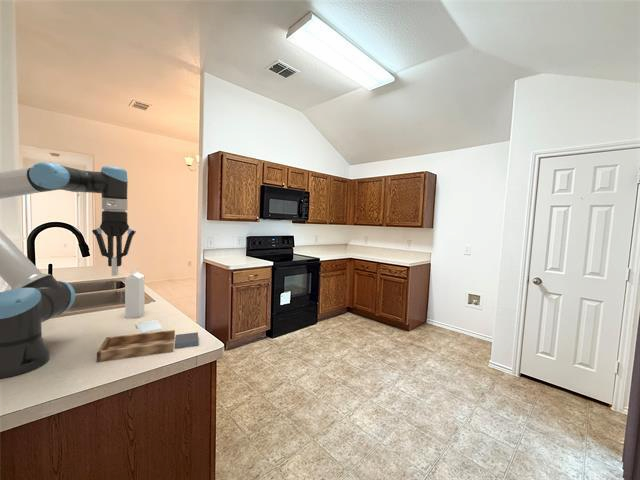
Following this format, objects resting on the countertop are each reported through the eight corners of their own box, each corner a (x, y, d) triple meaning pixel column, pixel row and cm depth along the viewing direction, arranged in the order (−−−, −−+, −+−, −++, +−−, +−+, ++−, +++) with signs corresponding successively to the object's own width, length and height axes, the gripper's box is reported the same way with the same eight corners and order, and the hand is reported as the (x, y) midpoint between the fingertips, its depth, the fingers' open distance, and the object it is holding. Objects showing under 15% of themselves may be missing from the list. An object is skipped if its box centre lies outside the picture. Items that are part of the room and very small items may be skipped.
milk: (144, 313, 137) (145, 269, 135) (139, 318, 131) (139, 271, 129) (130, 313, 136) (130, 268, 134) (124, 318, 130) (125, 271, 128)
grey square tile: (174, 350, 103) (174, 343, 102) (175, 340, 110) (175, 334, 110) (198, 346, 106) (198, 340, 106) (197, 337, 113) (197, 332, 113)
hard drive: (135, 323, 122) (141, 332, 113) (156, 319, 128) (164, 328, 119) (135, 326, 123) (141, 336, 114) (156, 322, 128) (164, 331, 119)
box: (96, 364, 91) (96, 352, 91) (106, 347, 102) (106, 337, 102) (173, 353, 101) (173, 342, 100) (174, 339, 111) (174, 329, 111)
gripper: (88, 209, 95) (89, 277, 97) (134, 212, 101) (134, 276, 103) (95, 209, 102) (96, 273, 104) (137, 211, 107) (137, 272, 109)
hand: (114, 274), depth 103 cm, fingers closed
